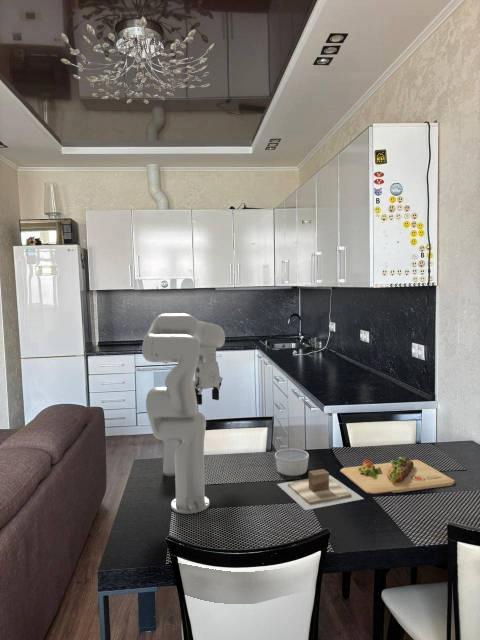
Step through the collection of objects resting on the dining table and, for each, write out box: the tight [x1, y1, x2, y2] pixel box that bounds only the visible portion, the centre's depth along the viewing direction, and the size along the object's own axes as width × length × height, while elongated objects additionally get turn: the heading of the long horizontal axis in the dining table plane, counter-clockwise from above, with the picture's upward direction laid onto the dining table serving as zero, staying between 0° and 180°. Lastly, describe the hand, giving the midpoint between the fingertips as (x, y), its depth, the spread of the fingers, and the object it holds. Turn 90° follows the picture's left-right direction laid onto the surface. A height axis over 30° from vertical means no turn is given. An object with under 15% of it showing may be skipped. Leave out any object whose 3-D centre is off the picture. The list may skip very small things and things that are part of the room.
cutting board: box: [339, 456, 455, 495], centre depth 178 cm, size 35×23×8 cm
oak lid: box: [288, 468, 351, 505], centre depth 166 cm, size 16×16×7 cm
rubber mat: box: [276, 474, 365, 511], centre depth 166 cm, size 22×22×1 cm
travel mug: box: [161, 440, 180, 477], centre depth 186 cm, size 6×7×20 cm
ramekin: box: [274, 448, 310, 477], centre depth 186 cm, size 13×13×7 cm
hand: (207, 401), depth 187 cm, fingers open, 9 cm apart
